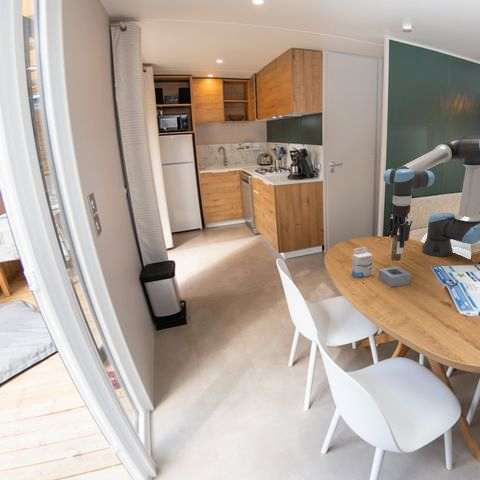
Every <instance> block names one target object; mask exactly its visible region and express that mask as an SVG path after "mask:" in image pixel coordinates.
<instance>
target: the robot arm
mask: <svg viewBox="0 0 480 480" xmlns="http://www.w3.org/2000/svg"><path fill="white" fill-rule="evenodd" d="M450 161H463V162H462V165H463V167H465V172H464V178H463V185H462V190H461V196H460V203H459V208H458V209H459V210H458V213H457V214H456V215H455V214H454V213H453V212H452V213H451V212H439V213H437V212H436V213H433V214H431V215H430V216H429V220H428V225H427V233H426V239H425V240H424V243H423V245H422V247H421V252H422V253H423V254H426V255H429V256H432V257H439V258H440V257H443V258H445V257H449V256H452V255H453V252H454V251H453V246H452V242H451V240H453V241H457V242H460V243H462V244H468V245H475V244H477V243H478V242H479V241H480V135H462V136H458V137H454V138H452V139H449V140H447V141H445V142H442V143H440V144H438V145H437V146H435V147H434V149H433V150H430V151H428V152H426V153H425V154H423V155H421V156H419V157H417V158H415V159H414V160H411V161H410V162H407V163H405V164H404V165H401V166H399V167H397V168H389V169H387V170H386V171H384V174H383V181H384V183H385V184H388V185H392V186H393V192H392V204H391V213H392V214H389V215H388V216H387V217H388V230H387V232H388V233H387V234H388V235H389V236H390V251H391V252H392V244H393V235H399V240H398V243H397V253H396V254H401V255H402V254H403V252H404V247H405V242H406V241H407V242H408V241H409V238H410V232H411V225H412V224H413V221H412V220H409V217H408V214H410V212H411V207H412V206H411V204H412V199H413V198H412V196H413V190H418V189H425V188H428V187H431V186H432V185H433V184H434V183H435V178H436V176H435V174H434V173H433V172H432V171H431V170H430V169H431V168H432V169H433V168H434V167H435V166H438V165H439V164H441V163H443V164H444V163H447V162H450Z"/></svg>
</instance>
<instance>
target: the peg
mask: <svg viewBox="0 0 480 480" xmlns="http://www.w3.org/2000/svg"><path fill="white" fill-rule="evenodd" d="M398 240H399V234H397V235H393V244H392V251H391V255H390V256H391V257H390V260H391V261H394V262H399V261H401V256H402V253H401V254H396V253H397V243H398Z"/></svg>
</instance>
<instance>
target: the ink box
mask: <svg viewBox="0 0 480 480" xmlns="http://www.w3.org/2000/svg"><path fill="white" fill-rule="evenodd" d="M373 257H374V255H373V254H372V253H370V252H368V246H362V247H357V248H356V247H355V248H353V250H352V266H351V275H352V276H353V277H355V278H357V279H358V278H363V277H369V276H372V269H373Z"/></svg>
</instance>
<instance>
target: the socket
mask: <svg viewBox="0 0 480 480" xmlns="http://www.w3.org/2000/svg"><path fill="white" fill-rule="evenodd" d="M378 279H379V280H380V281H382V282H383V283H384V284H386V285H387V286H389V287H390V288H392V287H393V288H394V287H400V286H404V285H409V284H410V283H411V274H410V273H409V272H407V271H406V270H404V269H403V268H401V267H399V266H396V265H395V266H390V267H384V268H379V269H378Z"/></svg>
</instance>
